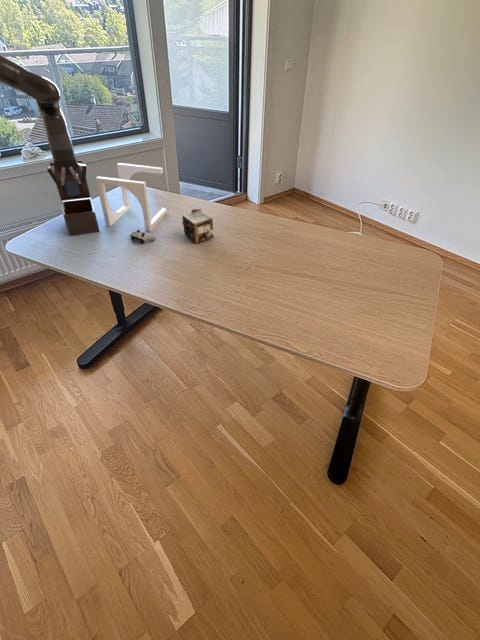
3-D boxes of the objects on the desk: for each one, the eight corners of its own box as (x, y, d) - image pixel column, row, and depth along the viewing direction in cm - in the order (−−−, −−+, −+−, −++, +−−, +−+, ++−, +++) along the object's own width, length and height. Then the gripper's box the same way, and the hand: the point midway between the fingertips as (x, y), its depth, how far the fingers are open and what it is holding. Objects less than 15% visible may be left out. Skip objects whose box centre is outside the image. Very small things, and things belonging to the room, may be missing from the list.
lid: (81, 160, 136) (80, 155, 139) (49, 163, 132) (48, 157, 135) (90, 197, 147) (89, 191, 150) (61, 200, 143) (60, 194, 146)
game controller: (157, 237, 140) (148, 231, 135) (151, 249, 140) (143, 244, 135) (139, 230, 144) (130, 224, 138) (134, 242, 144) (124, 237, 138)
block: (68, 196, 133) (65, 185, 130) (67, 192, 136) (64, 181, 133) (80, 195, 134) (77, 184, 131) (79, 191, 137) (76, 180, 134)
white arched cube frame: (126, 207, 163) (118, 162, 150) (167, 212, 160) (162, 167, 147) (106, 225, 148) (95, 177, 135) (150, 231, 146) (143, 183, 132)
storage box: (99, 231, 144) (94, 211, 138) (69, 236, 140) (63, 215, 134) (95, 217, 153) (90, 197, 148) (67, 220, 150) (61, 201, 144)
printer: (203, 227, 154) (201, 206, 148) (224, 251, 136) (223, 228, 130) (179, 231, 150) (176, 210, 144) (197, 257, 132) (195, 234, 126)
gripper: (81, 141, 128) (92, 188, 140) (38, 144, 124) (53, 192, 135) (83, 147, 123) (94, 194, 134) (39, 150, 118) (54, 199, 130)
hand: (73, 193), depth 135 cm, fingers closed on block, 4 cm apart
